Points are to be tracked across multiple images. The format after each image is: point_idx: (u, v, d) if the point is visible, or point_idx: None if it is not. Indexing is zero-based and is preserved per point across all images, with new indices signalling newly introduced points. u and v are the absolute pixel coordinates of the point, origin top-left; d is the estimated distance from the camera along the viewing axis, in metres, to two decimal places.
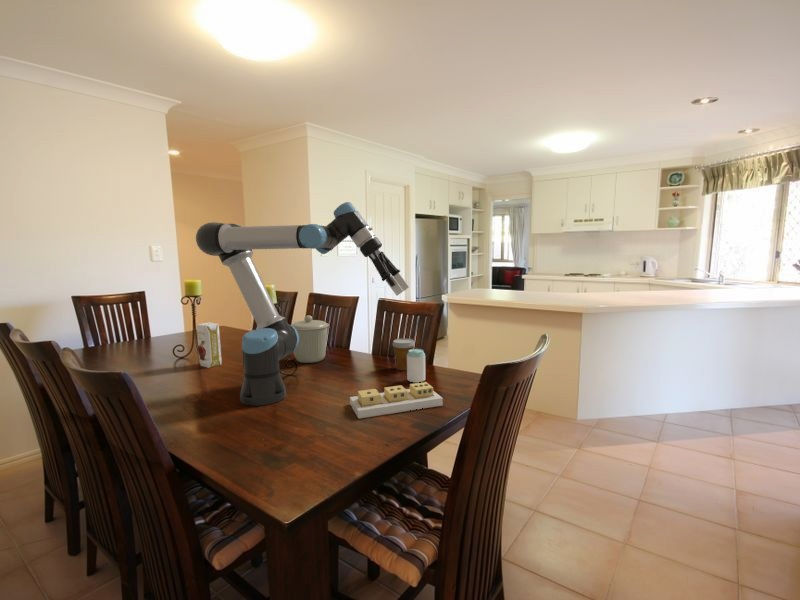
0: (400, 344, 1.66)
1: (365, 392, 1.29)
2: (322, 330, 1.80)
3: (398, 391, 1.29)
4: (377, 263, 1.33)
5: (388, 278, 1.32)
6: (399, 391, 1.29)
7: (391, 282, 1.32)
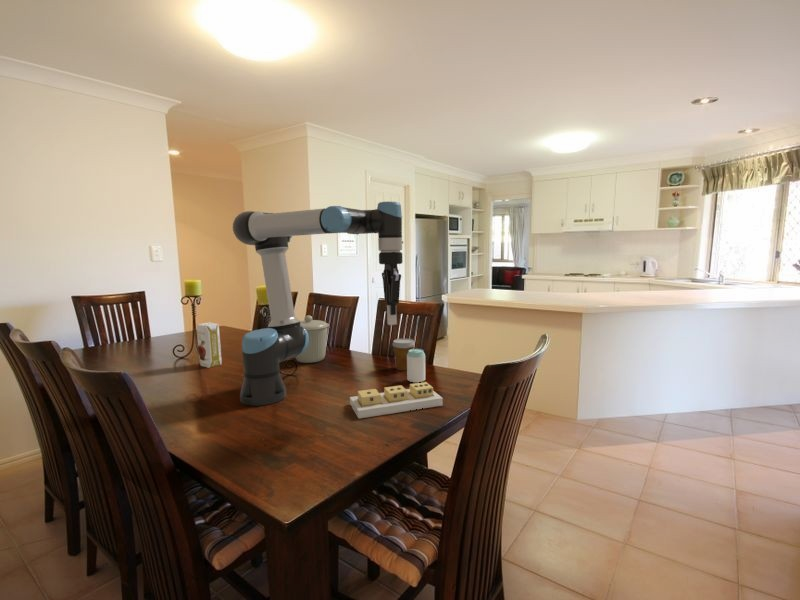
0: (400, 344, 1.66)
1: (365, 392, 1.29)
2: (322, 330, 1.80)
3: (398, 391, 1.29)
4: (396, 287, 1.25)
5: (393, 306, 1.29)
6: (399, 391, 1.29)
7: (393, 311, 1.29)
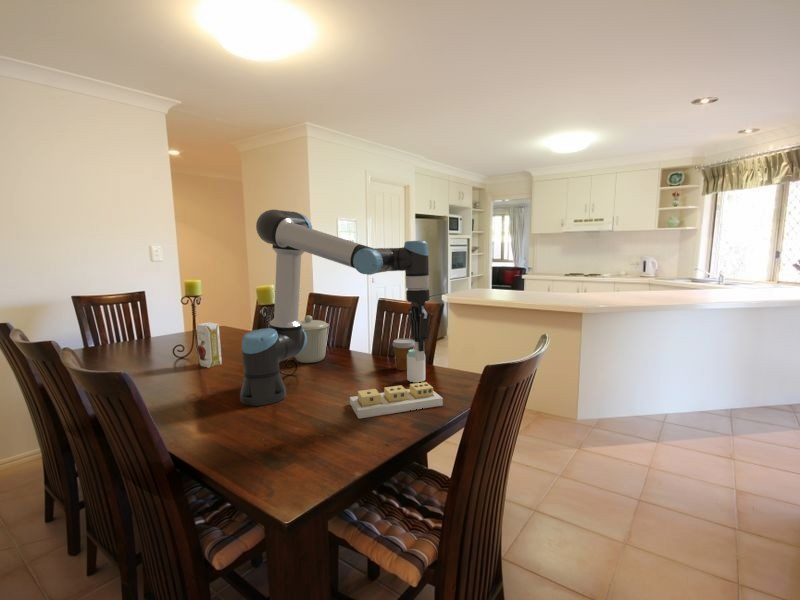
0: (400, 344, 1.66)
1: (365, 392, 1.29)
2: (322, 330, 1.80)
3: (398, 391, 1.29)
4: (425, 325, 1.26)
5: (421, 342, 1.30)
6: (399, 391, 1.29)
7: (422, 347, 1.30)
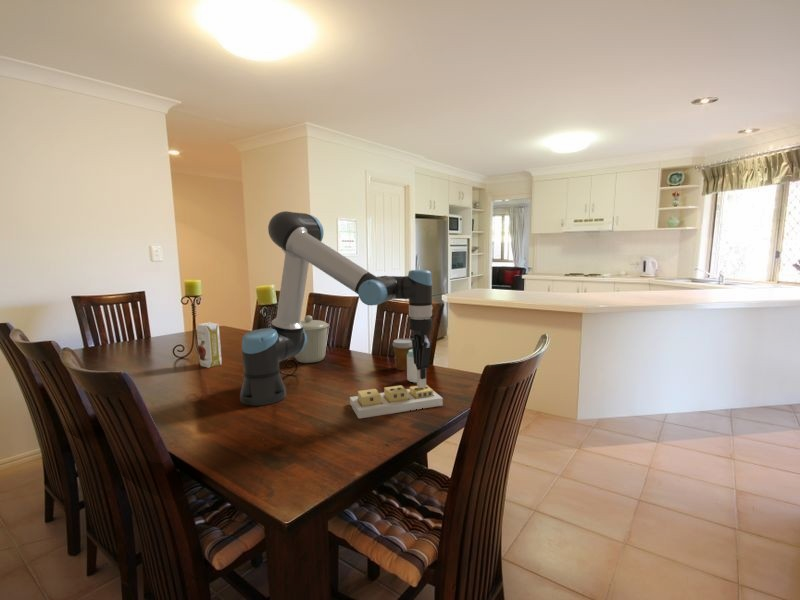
0: (400, 344, 1.66)
1: (365, 392, 1.29)
2: (322, 330, 1.80)
3: (398, 391, 1.29)
4: (427, 354, 1.28)
5: (424, 370, 1.31)
6: (399, 391, 1.29)
7: (424, 375, 1.32)
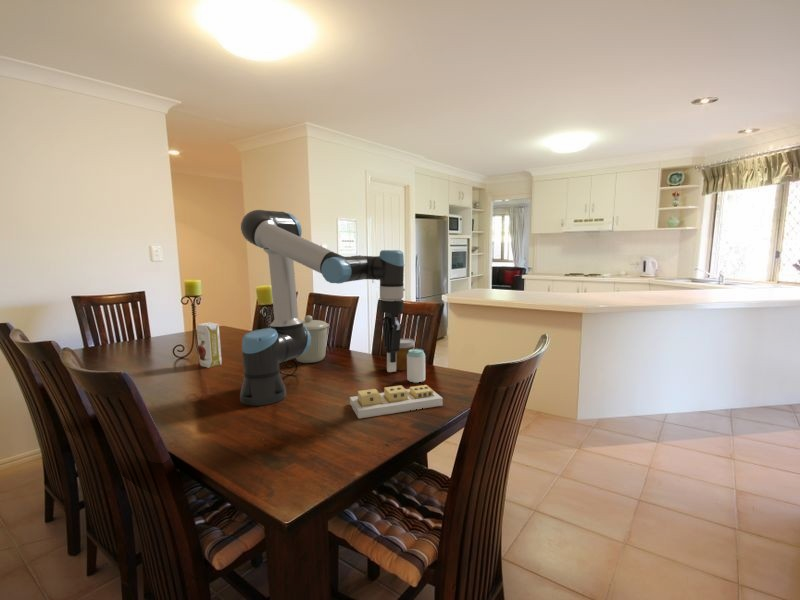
0: (400, 344, 1.66)
1: (365, 392, 1.29)
2: (322, 330, 1.80)
3: (398, 391, 1.29)
4: (397, 336, 1.24)
5: (394, 353, 1.28)
6: (399, 391, 1.29)
7: (394, 358, 1.28)
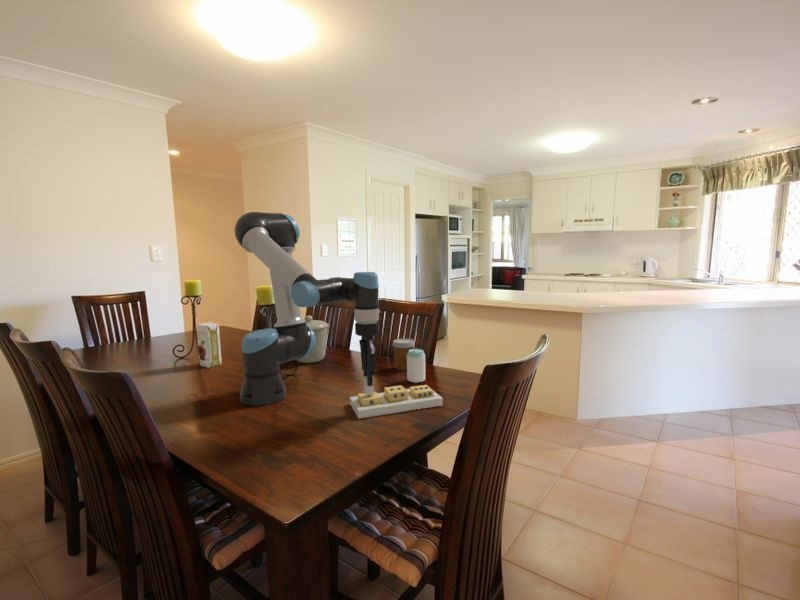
0: (400, 344, 1.66)
1: (365, 395, 1.29)
2: (322, 330, 1.80)
3: (398, 391, 1.29)
4: (372, 360, 1.22)
5: (370, 377, 1.26)
6: (399, 391, 1.29)
7: (370, 382, 1.26)
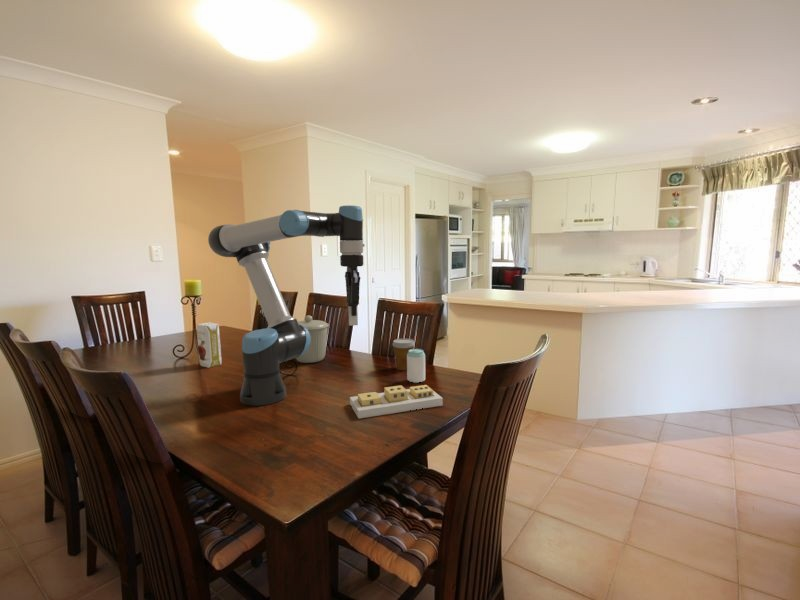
0: (400, 344, 1.66)
1: (365, 395, 1.29)
2: (322, 330, 1.80)
3: (398, 391, 1.29)
4: (356, 289, 1.28)
5: (354, 307, 1.32)
6: (399, 391, 1.29)
7: (354, 312, 1.32)
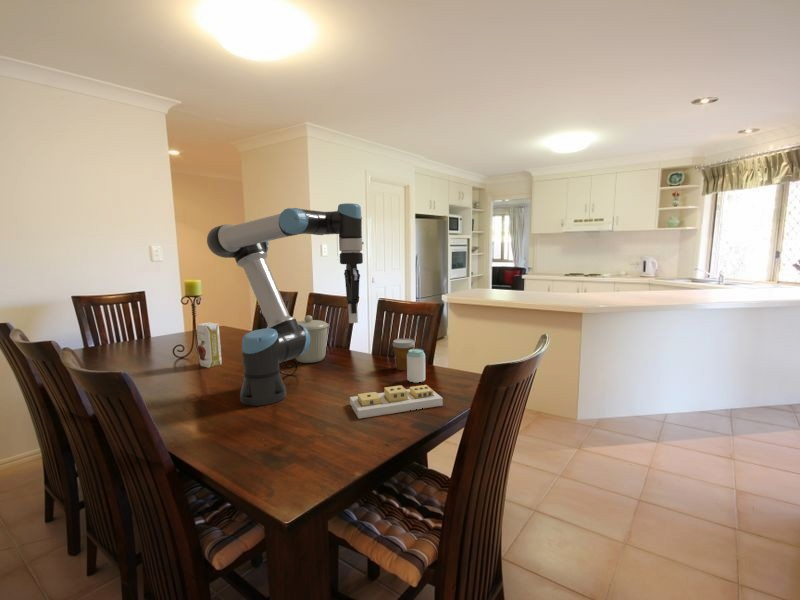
0: (400, 344, 1.66)
1: (365, 395, 1.29)
2: (322, 330, 1.80)
3: (398, 391, 1.29)
4: (356, 286, 1.29)
5: (354, 304, 1.32)
6: (399, 391, 1.29)
7: (354, 309, 1.33)
